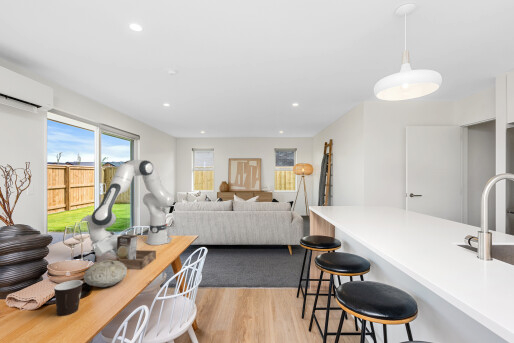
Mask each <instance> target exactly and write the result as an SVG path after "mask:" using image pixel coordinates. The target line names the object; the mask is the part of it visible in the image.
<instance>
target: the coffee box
mask: <svg viewBox="0 0 514 343" xmlns="http://www.w3.org/2000/svg"><path fill="white" fill-rule="evenodd" d="M137 241H138V236H137V235H134V234H125V233H124V234H121V235H119V236H117V254H116V257H115V259H116V260H115V261H118V260H119V259H133V260H137V259H136V250H137V247H138V246H137V245H138V243H137Z"/></svg>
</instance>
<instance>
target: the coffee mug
mask: <svg viewBox="0 0 514 343" xmlns="http://www.w3.org/2000/svg"><path fill="white" fill-rule="evenodd" d="M83 283H84V282H83V281H82V280H80V279H73V280H67V281H63V282H60V283H58V284H56V285H54V288H53V289H54V296H55V297H54V298H55V299H54V300H55V309H56V315H57V316H58V317H66V316H70V315H72V314H75V313H76V312H77V311H78V310H79V306H80V301H81V295H82V288H83Z"/></svg>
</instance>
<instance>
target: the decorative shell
mask: <svg viewBox="0 0 514 343" xmlns="http://www.w3.org/2000/svg"><path fill="white" fill-rule="evenodd" d="M127 273H128V269H127V267H125V265H124V264H123V263H121V262H119V261H116V260H114V259H113V260H111V259H108V260H106V259H105V260H102V261H99V262H97V263H94V264H92V265H90V266H89V268H87V270H86V271H84V274H83V280H84V282H85V283H86V284H87V285H89V286H93V287H99V288H106V287H110V286H114V285H115V284H118V283H119V282H121V281H122V280H124V279H125V277H126V276H127Z"/></svg>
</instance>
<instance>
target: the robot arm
mask: <svg viewBox="0 0 514 343" xmlns="http://www.w3.org/2000/svg"><path fill="white" fill-rule="evenodd" d="M134 176H136V177H140V176H141V177H142V179H143V184H144V186H145V188H146V190H147V192H148V193H145V194H144V195H143V197H142V202H143V204H144V205H145V206H146V207H147V209H148V211H149V215H150V217H149V218H150V221H149V222H150V223H149V231H148V232H147V238H146V240H145V244H148V245H150V246H151V245H152V246H159V245H164V244H170V243H171V241H172V240H173V237H172V236H170V231H169V230H168V228H167V226H168V223H166V219H167V217H166V213H165V212H164V211H163V209H162V208H168V207H172V206H173V205H174V203H175V197H174V195H173V194H171V193H170V192H168V190H166V188H165V187H164V185H163V184H162V181H161V179H160V176H159V172H158V171H157V168H156V167H155V165H154V164H153V163H152V162H151V161H150V160H146V159H145V160H142V159H134V160H130V159H129V160H126V161H125V162H124V163H121V164H119V165H118V168H117V169H116V170H115V172H114V174H113V176H112V177H111V178H112V179H111V181H110V184H109V187H108V188H107V191H106V193H105V194H104V197H103V198H102V201H101V202H100V204H99V206H98V207H97V208H96V209H95V210H94V211H93V212H92V214H88V215H86V216H84V217H83V218H82V219H81V220H80V222H82V221H88V223H89V229H90V237H89V239H90V241H91V244H90V246H91V247H92V251H93V252H94V253H95V254H96V255H97V256H98V257H103V256H105V255H107V254H109V255H110V256H113V257H114V258H116V254H117V237H118V236H117V235H116V232H115V231H107V229H108V228H110V227H112V226H113V225H114V224H115V223H116V221H117V216H116V214H115V213H114V212H113V207H114V205H115V202H117V201H116V200H117V198H118V197H119V196H120V195H121V194H124V193H127V191H128V190H129V188H130V186H131V184H132V181H133V178H134Z"/></svg>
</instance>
